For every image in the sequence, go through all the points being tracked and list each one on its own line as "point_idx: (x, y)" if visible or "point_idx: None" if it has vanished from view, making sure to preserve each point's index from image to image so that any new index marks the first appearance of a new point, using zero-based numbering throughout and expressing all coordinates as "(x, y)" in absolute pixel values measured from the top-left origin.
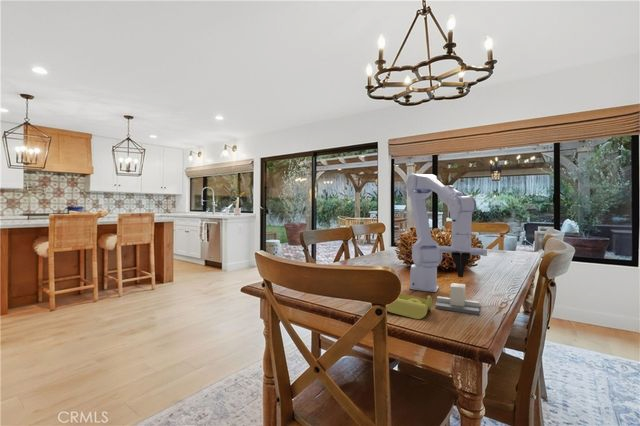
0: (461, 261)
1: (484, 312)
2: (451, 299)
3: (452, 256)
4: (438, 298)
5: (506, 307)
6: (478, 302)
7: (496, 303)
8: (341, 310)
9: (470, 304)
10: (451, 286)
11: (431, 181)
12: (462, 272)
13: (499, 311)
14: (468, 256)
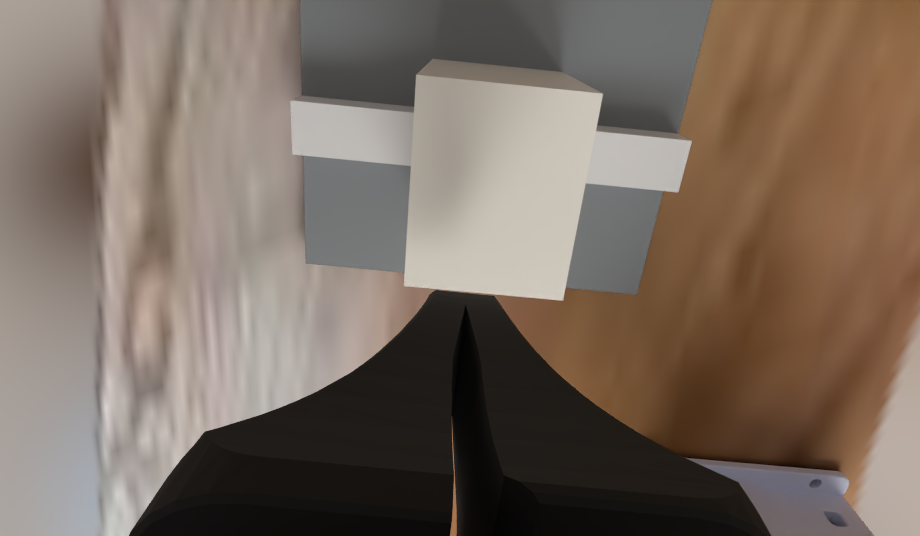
0: (440, 418)
1: (266, 50)
2: (557, 75)
3: (753, 512)
4: (674, 139)
5: (119, 268)
6: (299, 122)
7: (196, 342)
8: None
9: (375, 105)
10: (586, 96)
11: None
12: (430, 314)
13: (156, 135)
14: (164, 502)
